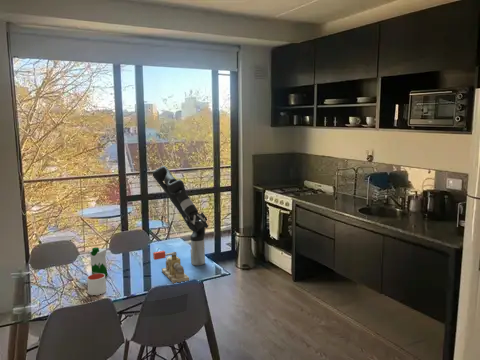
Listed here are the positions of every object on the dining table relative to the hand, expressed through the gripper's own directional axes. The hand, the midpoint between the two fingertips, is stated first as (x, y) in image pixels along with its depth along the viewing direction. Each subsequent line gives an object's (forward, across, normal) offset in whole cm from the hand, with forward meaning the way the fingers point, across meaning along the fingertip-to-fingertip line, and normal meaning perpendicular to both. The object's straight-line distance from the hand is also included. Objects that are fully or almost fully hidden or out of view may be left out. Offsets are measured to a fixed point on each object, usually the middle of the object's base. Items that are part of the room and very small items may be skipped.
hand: (202, 229), depth 249 cm
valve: (+9, +4, -39) cm, 40 cm away
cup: (-2, +49, -52) cm, 71 cm away
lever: (-2, +9, -31) cm, 33 cm away
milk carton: (-16, +34, -67) cm, 77 cm away
